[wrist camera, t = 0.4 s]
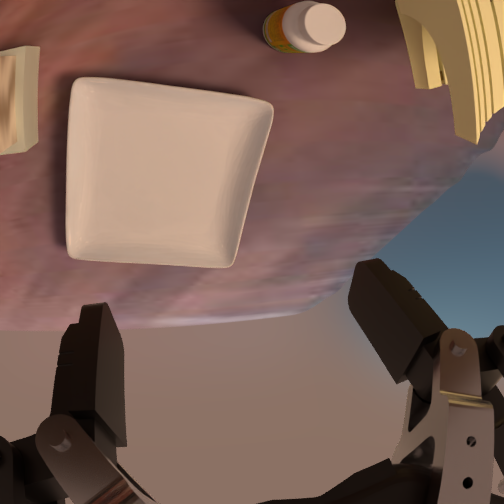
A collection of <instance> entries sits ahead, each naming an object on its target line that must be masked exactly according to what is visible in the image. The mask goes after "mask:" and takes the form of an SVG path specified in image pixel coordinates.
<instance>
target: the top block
mask: <svg viewBox="0 0 504 504" xmlns="http://www.w3.org/2000/svg"><path fill="white" fill-rule="evenodd" d="M15 69H16V56H0V153H2V152H3V151H5V150H6V149H7V148H9V147H10V146H12V145H13V144H15V143H16V142H17V131H16V112H15Z"/></svg>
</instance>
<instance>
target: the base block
mask: <svg viewBox="0 0 504 504" xmlns="http://www.w3.org/2000/svg"><path fill="white" fill-rule="evenodd" d="M39 54H40V47H38V46H23V47H18V48H13V49H9V50H5V51H1V52H0V56H16V69H15V112H16V131H17V142H16V143H15V144H13V145H12V146H10V147H9V148H7V149H6V150H5V151H3V152H2V153H0V155H4V154H11V153H19V152H26V151H27V150H28V149H30V148H31V147H32V146H33V145H35V144H36V143H37V142H38V115H37V96H38V68H39Z"/></svg>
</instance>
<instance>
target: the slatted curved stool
mask: <svg viewBox="0 0 504 504" xmlns="http://www.w3.org/2000/svg"><path fill="white" fill-rule="evenodd" d="M395 5H396V8H397V12H398V15H399V19H400V22H401V26H402V29H403V33H404V37H405V41H406V45H407V49H408V54H409V58H410V62H411V67H412V72H413V77H414V82H415V88H421V89H432V88H436V87H439V86H442V84H445V85H446V84H448V85H449V90H450V96H451V102H452V108H453V116H454V126H455V135H457V136H459V137H461V138H463V139H466V140H468V141H470V142H472V143H474V144H476V145H477V143H478V140H479V137H480V131H481V132H482V130H483V128H484V126H485V121H487V122H488V120H489V119H490V118H491V117H492V113H493V114H495V113H496V112H497V111H498V110H499V109H501V108H502V107H504V0H395Z"/></svg>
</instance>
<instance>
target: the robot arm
mask: <svg viewBox="0 0 504 504" xmlns="http://www.w3.org/2000/svg"><path fill="white" fill-rule="evenodd" d="M348 305H349V309H350V311H351V313H352V315H353V316H354V318H355V319H356V321H357V322H358V324H359V325H360V327H361V329H362V330H363V332H364V333H365V335H366V336H367V338H368V339H369V341H370V343H371V344H372V346H373V347H374V348H375V350H376V352H377V354H378V355H379V357H380V358H381V360H382V362H383V363H384V365H385V366H386V368H387V370H388V371H389V373H390V375H391V376H392V378H393V379H394V381H395V382H396V384H398V383H401V382H403V381H405V380H409V381H410V383H411V384H410V386H409V389H408V396H407V403H406V411H405V418H404V424H403V430H402V435H401V439H400V441H399V443H398V445H397V447H396V449H395V451H394V454H393V457H392V461H390V459H389V458H388V459H386V460H384V461H382V462H379V463H377V464H375V465H373V466H370V467H368V468H366V469H363V470H361V471H359V472H356V473H354V474H353V475H351V476H350V477H349V478H347V479H346V480H344V481H343V482H341V483H340V484H338V485H337V486H335V487H334V488H332V489H331V490H329V491H328V492H326V493H325V494H323V495H321V496H319V497H314V498H302V499H286V500H270V501H266V502H262V503H258V504H504V497H501V496H498V495H495V494H492V493H491V488H492V477H493V461H494V457H495V459H496V461H497V463H498V465H499V467H500V469H501V472H502V474H503V476H504V397H503V396H502V394H501V392H500V391H499V389H498V388H497V386H496V384H497V382H498V381H499V380H500V379H501V378H502V377H504V325H501V326H497V327H496V328H495V329H494V330H493V332H492V333H491V335H490V336H489V337H487V338H475V339H473V338H472V337H471V336H470V335H469V334H468V333H467V332H465V331H462V330H460V329H456V328H451V329H448V328H447V326H446V325H445V324H444V323H443V321H442V320H441V319H440V318H439V317H438V315H437V314H436V313H435V312H434V310H433V309H432V308H431V307H430V306H429V305H428V303H427V302H426V301H425V300H424V299H422V298H421V295H420V294H419V293H418V292H417V291H415V290H414V287H413V286H412V285H411V284H410V282H409V281H408V280H407V279H406V278H405V277H403V276H401V275H400V274H398V273H397V272H395V271H394V270H392V271H391V270H390V269H389V268H388V267H387V265H386V264H385V263H384V262H383V261H382V260H381V259H379V258H376V259H371V260H366V261H361V262H358V263H357V264H356V266H355V270H354V274H353V279H352V283H351V287H350V291H349V295H348ZM59 353H60V355H59V356H58V362H57V365H58V367H57V368H56V375H55V381H54V389H53V397H52V406H51V413H50V416H49V417H48V418H46V419H45V420H44V421H43V422H42V423H41V424H40V426H39V427H38V429H37V432H36V434H34V435H32V436H29V437H26V438H23V439H19V440H16V441H13V442H8V441H7V440H6V439H5V438H3V437H2V436H0V504H65V498H67V497H69V498H70V499H71V500H72V502H73V503H74V504H160V503H159V502H158V501H157V500H155V499H154V498H153V497H152V496H151V495H150V494H149V493H148V492H147V491H146V490H145V489H144V488H143V487H142V486H141V485H140V484H139V483H138V482H137V481H136V480H135V479H134V478H133V477H132V476H131V475H130V474H129V473H128V472H127V471H126V470H125V469H124V468H123V467H122V465H121V464H120V463H119V462H118V461H117V456H116V447H127V440H126V425H125V424H126V423H125V399H124V347H123V342H122V338H121V335H120V333H119V330H118V328H117V326H116V323H115V321H114V318H113V316H112V313H111V311H110V308H109V306H108V304H107V303H106V302H104V303H96V304H89V305H83V306H82V308H81V313H80V318H79V323H76V324H70V325H69V327H68V328H67V330H66V332H65V333H64V335H63V337H62V339H61V344H60V350H59ZM498 490H499V492H500V493H502V494H504V479H503V480H501V481H500V483H499V485H498Z"/></svg>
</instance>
